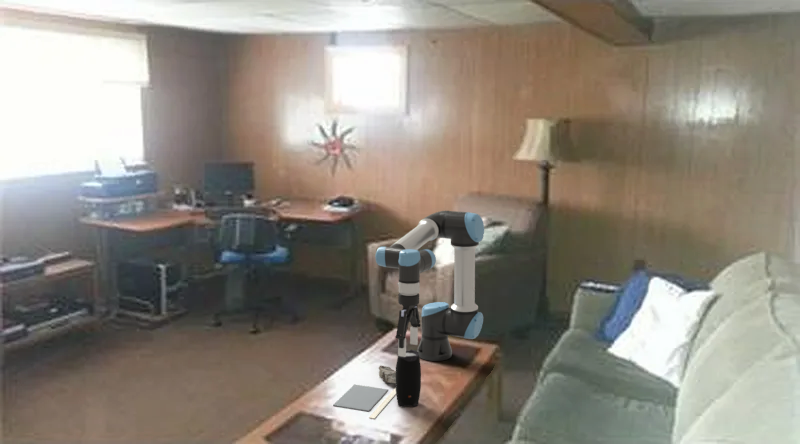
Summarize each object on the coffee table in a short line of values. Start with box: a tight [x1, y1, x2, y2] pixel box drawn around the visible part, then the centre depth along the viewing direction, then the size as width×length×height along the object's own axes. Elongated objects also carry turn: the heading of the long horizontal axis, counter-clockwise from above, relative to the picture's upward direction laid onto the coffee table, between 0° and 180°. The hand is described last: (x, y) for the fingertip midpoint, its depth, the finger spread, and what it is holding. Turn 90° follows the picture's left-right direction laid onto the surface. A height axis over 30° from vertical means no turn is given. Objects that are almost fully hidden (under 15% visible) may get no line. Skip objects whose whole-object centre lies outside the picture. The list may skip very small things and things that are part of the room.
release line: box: [368, 387, 397, 420], centre depth 259 cm, size 30×2×1 cm, turn 161°
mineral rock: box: [378, 365, 396, 385], centre depth 278 cm, size 15×8×4 cm, turn 15°
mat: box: [332, 384, 389, 412], centre depth 262 cm, size 20×14×1 cm
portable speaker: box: [395, 349, 422, 408], centre depth 256 cm, size 9×9×20 cm
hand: (408, 350), depth 254 cm, fingers open, 13 cm apart
